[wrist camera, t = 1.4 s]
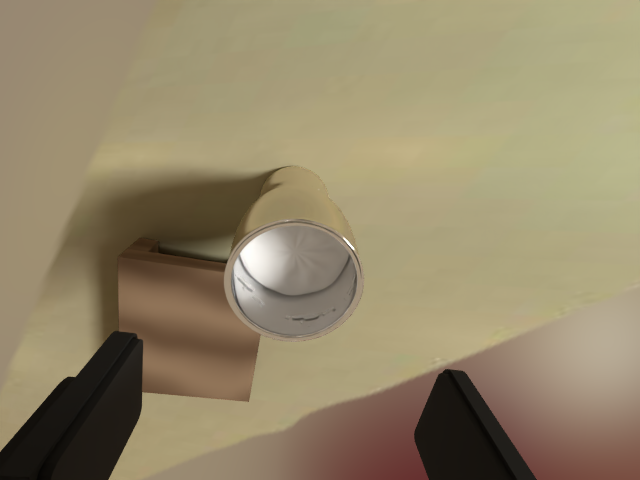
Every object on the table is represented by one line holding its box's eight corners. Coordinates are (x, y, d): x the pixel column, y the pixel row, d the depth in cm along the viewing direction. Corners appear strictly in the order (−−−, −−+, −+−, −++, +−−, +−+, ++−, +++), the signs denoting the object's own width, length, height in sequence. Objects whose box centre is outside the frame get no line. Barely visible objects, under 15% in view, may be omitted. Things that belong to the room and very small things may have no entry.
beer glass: (303, 250, 31) (310, 366, 17) (239, 208, 29) (189, 302, 15) (349, 192, 29) (398, 269, 15) (284, 143, 27) (275, 182, 13)
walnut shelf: (139, 237, 29) (117, 256, 26) (273, 258, 31) (270, 279, 27) (138, 359, 34) (120, 389, 31) (253, 371, 36) (248, 401, 32)
